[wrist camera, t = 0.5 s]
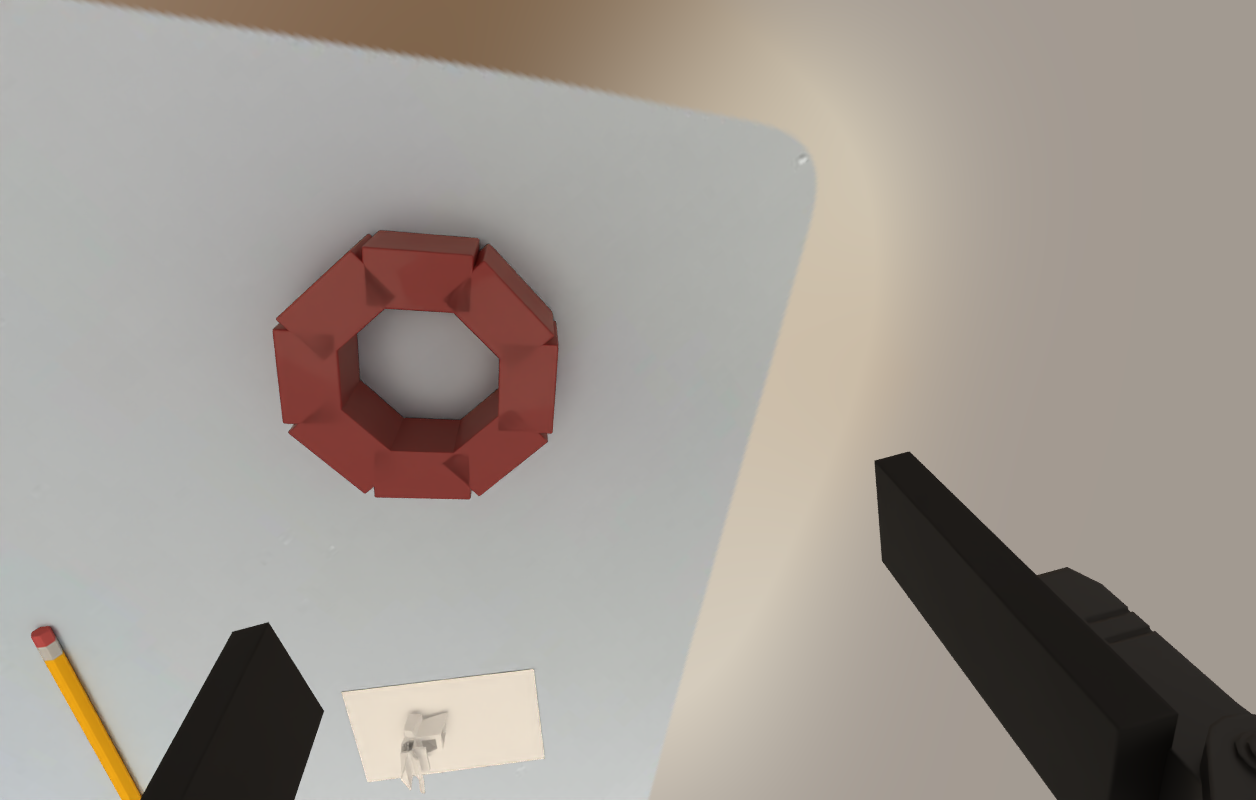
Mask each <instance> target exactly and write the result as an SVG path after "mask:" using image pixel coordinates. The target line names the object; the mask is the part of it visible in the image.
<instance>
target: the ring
mask: <svg viewBox="0 0 1256 800" xmlns="http://www.w3.org/2000/svg"><path fill="white" fill-rule="evenodd" d="M479 242H480V240H479V239H478V238H469V237H457V236H444V235H432V234H419V233H407V232H395V231H382V230H380V231H378V232H377V233H376V234H375V235H374V236H373V237H372V236H371V235H370V234H367V235H366V236H365V237H364V238H363V239H362V240H361V241H359V242H358V243H357V244H356V245H355V246H354V247H353V248H352V249H350V250H349V251H348V252H347V253H346V254H345V255H344V256H343V257H342V258H341V259H340V260H339V261H337V262H336V263H335V264H334V265H333V266H332V267H331V268H330V269H329V270H328V271H327V272H326V273H325V274H323V275H322V276H321V277H320V278H319V279H318V280H317V281H316V282H315V283H314V284H313V285H312V286H311V287H309V288H308V289H307V290H306V291H305V292H304V293H303V294H302V295H301V296H300V297H299V298H298V299H296V300H295V301H294V302H293V303H292V304H291V305H290V306H289V307H288V308H287V309H286V310H285V311H284V312H282V313H281V314H280V315H279V316H278V317H277V318H276V320H277V321H278V322H279V324H278V325H277V326H276V327H275V328H274V329H273V339H274V348H275V357H276V366H277V375H278V384H279V392H280V401H281V410H282V419H283V423H285V424H294V425H293V426H292V428H291V429H290V431H289V432H288V433H289V434H290V435H291V436H293V437H294V438H295V439H297V440H298V441H299V442H300V443H302V444H303V445H304V446H305V447H307V448H308V449H309V450H310V451H312V452H313V453H314V454H315V455H317V456H318V457H319V458H320V459H322V460H323V461H324V462H325V463H327V464H328V465H329V466H331V467H332V468H333V469H334V470H336V471H337V472H338V473H339V474H341V475H342V476H343V477H344V478H346V479H347V480H348V481H349V482H351V483H352V484H353V485H354V486H356V487H357V488H358V489H359V490H361V491H362V492H363V493H367V492H368V491H369V490H370V489H372V488H373V487H374V493H375V497H383V498H431V499H470V498H471V491H472V490H473V491H474V492H475V493H476V494H477V495H478V496H480V495H482V494H483V493H484V492H485V491H487V490H488V489H489V488H490V487H492V486H493V485H494V484H495V483H497V482H498V481H499V480H500V479H502V478H503V477H504V476H505V475H507V474H508V473H509V472H510V471H512V470H513V469H514V468H515V467H517V466H518V465H519V464H520V463H522V462H523V461H524V460H526V459H527V458H528V457H529V456H531V455H532V454H533V453H534V452H536V451H537V450H538V449H539V448H541V447H542V446H543V445H544V444H546V443H547V442H548V437H547V433H549V434H551V433H552V432H553V419H554V404H555V390H556V375H557V361H558V336H557V326H556V321H553V314H552V311H551V310H550V309H549V308H548V307H547V306H546V304H545V303H544V302H543V301H542V300H541V299H540V298H539V297H538V296H537V295H536V294H535V293H534V291H533V290H532V289H531V288H530V287H529V286H528V285H527V284H526V283H525V282H524V281H523V279H522V278H521V277H520V276H519V275H518V274H517V273H516V272H515V271H514V270H513V269H512V268H511V266H510V265H509V264H508V263H507V262H506V261H505V260H504V259H503V258H502V257H501V256H500V254H499V253H498V252H497V251H496V250H495V249H494V248H493V247H492V246H491V245H490V244H487V245H486V246H485V247H484V248H483V249H482V250H480V251H479ZM384 309H399V310H415V311H431V312H447V313H454V314H455V315H456V316H457V317H458V318H459V319H460V320H461V321H462V322H463V323H464V324H465V325H466V326H467V327H468V328H469V329H470V330H471V331H472V332H473V333H474V334H475V335H476V336H477V337H478V338H479V339H480V340H481V341H482V342H483V343H484V344H485V345H486V346H487V347H488V348H489V349H490V350H491V351H492V352H493V353H494V354H495V355H496V356H497V357H498V358H499V385H498V389H497V390H496V391H495V392H493V393H492V394H491V395H490V396H489V397H487V398H486V399H485V400H484V401H483V402H481V403H480V404H479V405H478V406H477V407H475V408H474V409H473V410H472V411H471V412H469V413H468V414H467V415H466V416H465V417H463V418H462V419H461V420H448V419H422V418H403V417H402V416H401V415H400V414H398V413H397V412H396V411H395V410H394V409H393V408H392V407H391V406H389V405H388V404H387V403H386V402H385V401H384V400H383V399H381V398H380V397H379V396H378V395H377V394H376V393H375V392H373V391H372V390H371V389H370V388H369V387H368V386H367V385H365V384H364V383H363V382H362V381H361V380H360V374H359V357H358V341H357V333H358V332H359V331H360V330H362V329H363V328H364V327H365V326H366V325H367V324H368V323H369V322H371V321H372V320H373V319H374V318H375V317H376V316H377V315H378V314H380V313H381V312H382V311H383V310H384Z"/></svg>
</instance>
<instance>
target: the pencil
mask: <svg viewBox="0 0 1256 800" xmlns="http://www.w3.org/2000/svg"><path fill="white" fill-rule="evenodd" d="M31 638H32V640H33V642H34V644H35V645H36V647H37V649H38V651H39V653H40V654H41V656H42V658H43V660H44V662H45V663H46V665H47V667H48V669H49V670H50V672H51V674H52V676H53V678H54V679H55V681H56V683H57V685H58V687H59V688H60V690H61V692H62V694H63V696H64V697H65V699H66V701H67V703H68V705H69V706H70V708H71V710H72V712H73V713H74V715H75V717H76V719H77V721H78V722H79V724H80V726H81V728H82V730H83V731H84V733H85V735H86V737H87V739H88V740H89V742H90V744H91V746H92V747H93V749H94V751H95V753H96V755H97V756H98V758H99V760H100V762H101V764H102V765H103V767H104V769H105V771H106V773H107V774H108V776H109V778H110V780H111V781H112V783H113V785H114V787H115V789H116V790H117V792H118V794H119V796H120V798H121V799H122V800H140V799H141V797H142V796H141V794H140V793H139V791H138V789H137V787H136V785H135V783H134V781H133V780H132V778H131V776H130V774H129V772H128V770H127V768H126V767H125V765H124V763H123V761H122V759H121V757H120V755H119V754H118V752H117V750H116V748H115V746H114V744H113V742H112V741H111V739H110V737H109V735H108V733H107V731H106V729H105V728H104V726H103V724H102V722H101V720H100V718H99V716H98V714H97V713H96V711H95V709H94V707H93V705H92V703H91V701H90V700H89V698H88V696H87V694H86V692H85V690H84V688H83V687H82V685H81V683H80V681H79V679H78V677H77V675H76V674H75V672H74V670H73V668H72V666H71V664H70V662H69V661H68V659H67V657H66V655H65V653H64V651H63V649H62V648H61V646H60V644H59V642H58V640H57V638H56V636H55V634H54V633H53V631H52V629H51V627H50V626H45V627H40V628H38V629H36V630H35V631H33V632H32V634H31Z"/></svg>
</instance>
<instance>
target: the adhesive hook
mask: <svg viewBox="0 0 1256 800" xmlns="http://www.w3.org/2000/svg"><path fill="white" fill-rule="evenodd" d="M448 717H449V712H448V711H446V712H443V713H440V714H436V715H433V716H430V717H427V718H423V714H422V713H409V714H408V716H407V718H406V721H405V723H404V726H403V740H402V742H401V744H400V752H399V759H400V778H401V780H402V782H403V783H404V784H405V785H406V786H407V787H408V788H409V789H410V790H411V786H412V777H413V776H417V777H418V779H419V783H420V791H421V793H422V794H423V793H425V787H424V779H423V772H430V771H431V770H432V768H431V763H430V759H429V757H431V756H433V755H436V754H438V753H440V752H443V751H444V747H445V742H446V736H447V729H448Z"/></svg>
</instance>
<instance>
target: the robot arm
mask: <svg viewBox="0 0 1256 800" xmlns="http://www.w3.org/2000/svg"><path fill="white" fill-rule="evenodd" d="M875 473H876V487H877V500H878V514H879V526H880V540H881V553H882V561H883V563H884V564H885V565H886V567H887V568H888V570H889V571H890V572H891V574H892V575H893V576H894V578H895V579H896V581H897V582H898V583H899V585H900V586H901V587H902V589H903V590H904V591H905V593H906V594H907V596H908V597H909V598H910V600H911V601H912V602H913V604H914V605H915V606H916V608H917V609H918V611H919V612H920V613H921V614H922V616H923V617H924V619H925V620H926V621H927V623H928V624H929V626H930V627H931V628H932V630H933V631H934V632H935V634H936V635H937V636H938V638H939V639H940V641H941V642H942V643H943V644H944V646H945V647H946V649H947V650H948V651H949V653H950V654H951V656H952V657H953V658H954V660H955V661H956V662H957V664H958V665H959V666H960V668H961V669H962V671H963V672H964V673H965V675H966V676H967V677H968V678H969V680H970V681H971V683H972V684H973V686H974V687H975V688H976V690H977V691H978V692H979V694H980V695H981V696H982V698H983V699H984V701H985V702H986V703H987V704H988V706H989V707H990V709H991V710H992V711H993V713H994V714H995V716H996V717H997V718H998V720H999V721H1000V722H1001V724H1002V725H1003V727H1004V728H1005V729H1006V731H1007V732H1008V733H1009V734H1010V736H1011V737H1012V739H1013V740H1014V742H1015V743H1016V744H1017V745H1018V747H1019V748H1020V750H1021V751H1022V752H1023V754H1024V755H1025V756H1026V758H1027V759H1028V761H1029V762H1030V763H1031V765H1032V766H1033V767H1034V769H1035V770H1036V771H1037V773H1038V774H1039V776H1040V777H1041V778H1042V780H1043V781H1044V782H1045V784H1046V785H1047V786H1048V788H1049V789H1050V790H1051V792H1052V793H1053V795H1054V796H1055V797H1056V799H1057V800H1256V715H1255V714H1251V713H1250V712H1248V711H1247V710H1246V709H1244V708H1243V707H1242V706H1240V705H1239V704H1238V703H1237V702H1235V701H1234V700H1233V699H1232V698H1231V697H1230V696H1229V695H1227V694H1226V693H1225V692H1224V691H1223V690H1222V689H1220V688H1219V687H1218V686H1217V685H1216V684H1215V683H1214V682H1213V681H1211V680H1210V679H1209V678H1208V677H1207V676H1206V675H1205V674H1203V673H1202V672H1201V671H1200V670H1199V669H1198V668H1197V667H1196V666H1194V665H1193V664H1192V663H1191V662H1190V661H1189V660H1188V659H1186V658H1185V657H1184V656H1183V655H1182V654H1181V653H1179V652H1178V651H1177V650H1176V649H1175V648H1173V646H1171V645H1170V644H1169V643H1168V642H1167V641H1166V640H1165V639H1164V638H1162V637H1161V636H1160V635H1159V634H1158V633H1157V632H1156V631H1154V632H1153V631H1151V629H1150V627H1149V625H1148V624H1146V623H1145V622H1144V621H1143V620H1142V619H1141V618H1140V617H1139V616H1137V615H1136V614H1135V613H1134V612H1130V611H1129V610H1128V607H1127V606H1126V605H1125V604H1124V603H1122V602H1121V601H1120V600H1119V599H1118V598H1117V597H1116V596H1115V595H1113V594H1112V593H1111V592H1110V591H1109V590H1108V589H1107V588H1105V587H1104V586H1103V585H1102V584H1100V583H1099V582H1097V581H1094V580H1092V579H1090V578H1088V577H1086V576H1084V575H1082V574H1080V573H1078V572H1076V571H1074V570H1072V569H1070V568H1068V567H1066V568H1062V569H1058V570H1055V571H1051V572H1048V573H1044V574H1040V575H1036V574H1035V573H1034V572H1033V571H1032V570H1031V569H1029V568H1028V567H1027V566H1026V565H1025V564H1024V563H1023V562H1022V561H1021V560H1020V559H1019V558H1018V557H1017V556H1016V555H1015V554H1014V553H1013V552H1012V551H1011V550H1010V549H1009V548H1008V547H1007V546H1006V545H1005V544H1004V543H1003V542H1002V541H1001V540H1000V539H999V538H998V537H997V536H996V535H995V534H994V533H992V531H990V530H989V529H988V528H987V527H986V526H985V525H984V524H983V523H982V522H981V521H980V520H979V519H978V518H977V517H976V516H975V515H974V514H973V513H972V512H971V511H970V510H969V509H968V508H967V507H966V506H965V505H964V504H963V503H962V502H961V501H960V500H959V499H958V498H957V497H955V495H953V493H951V492H950V491H949V490H948V489H947V488H946V487H945V486H944V485H943V484H942V483H941V482H940V481H939V480H938V479H937V478H936V477H935V476H934V475H933V474H932V473H931V472H930V471H929V470H928V469H927V468H926V467H925V466H924V465H923V464H921V462H920V461H919V460H917V458H916V457H914V456H913V455H912V454H911V453H910V452H905V453H902V454H898V455H894V456H890V457H887V458H883V459H879V460H876V461H875ZM323 713H324V710H323V709H322V707H321V706H320V704H319V702H318V701H317V699H316V698H315V696H314V694H313V693H312V691H311V690H310V688H309V686H308V685H307V683H306V681H305V680H304V678H303V677H302V675H301V673H300V672H299V670H298V669H297V667H296V665H295V664H294V662H293V661H292V659H291V657H290V656H289V654H288V653H287V651H286V649H285V648H284V646H283V645H282V643H281V641H280V640H279V638H278V637H277V635H276V633H275V632H274V630H273V629H272V627H271V625H270V624H269V622H268V623H264V624H260V625H256V626H253V627H249V628H245V629H241V630H238V631H234V632H232V634H231V636H230V637H229V639H228V641H227V643H226V645H225V647H224V648H223V650H222V652H221V654H220V656H219V657H218V659H217V661H216V663H215V665H214V666H213V668H212V670H211V672H210V674H209V676H208V677H207V679H206V681H205V683H204V685H203V686H202V688H201V690H200V692H199V694H198V696H197V697H196V699H195V701H194V703H193V705H192V706H191V708H190V710H189V712H188V714H187V716H186V717H185V719H184V721H183V723H182V725H181V726H180V728H179V730H178V732H177V734H176V736H175V737H174V739H173V741H172V743H171V745H170V746H169V748H168V750H167V752H166V754H165V755H164V757H163V759H162V761H161V763H160V765H159V766H158V768H157V770H156V772H155V774H154V775H153V777H152V779H151V781H150V783H149V785H148V786H147V788H146V790H145V792H144V794H143V795H142V797H141V799H140V800H294V799H295V796H296V793H297V790H298V787H299V784H300V781H301V778H302V775H303V772H304V769H305V766H306V763H307V760H308V757H309V754H310V751H311V748H312V745H313V742H314V739H315V736H316V733H317V730H318V727H319V724H320V721H321V718H322V715H323Z"/></svg>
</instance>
